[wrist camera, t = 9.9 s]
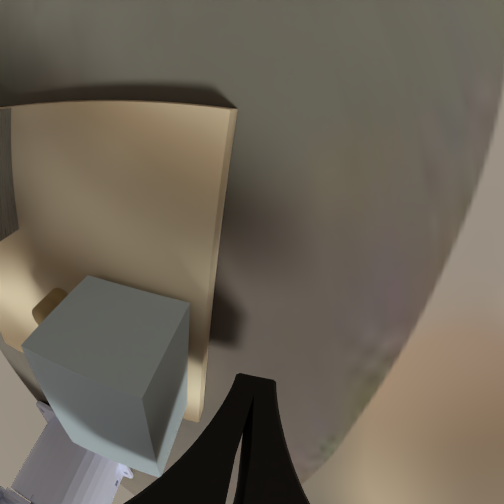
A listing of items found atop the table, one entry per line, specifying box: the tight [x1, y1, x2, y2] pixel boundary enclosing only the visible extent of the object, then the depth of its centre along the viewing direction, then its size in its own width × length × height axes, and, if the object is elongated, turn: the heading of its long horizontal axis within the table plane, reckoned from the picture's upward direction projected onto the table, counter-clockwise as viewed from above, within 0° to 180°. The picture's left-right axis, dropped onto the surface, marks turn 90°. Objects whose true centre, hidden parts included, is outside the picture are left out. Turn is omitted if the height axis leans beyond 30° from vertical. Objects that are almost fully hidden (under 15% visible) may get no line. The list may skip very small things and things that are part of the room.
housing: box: [21, 275, 190, 477], centre depth 10 cm, size 6×4×4 cm, turn 171°
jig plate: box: [0, 100, 238, 423], centre depth 10 cm, size 14×14×4 cm
